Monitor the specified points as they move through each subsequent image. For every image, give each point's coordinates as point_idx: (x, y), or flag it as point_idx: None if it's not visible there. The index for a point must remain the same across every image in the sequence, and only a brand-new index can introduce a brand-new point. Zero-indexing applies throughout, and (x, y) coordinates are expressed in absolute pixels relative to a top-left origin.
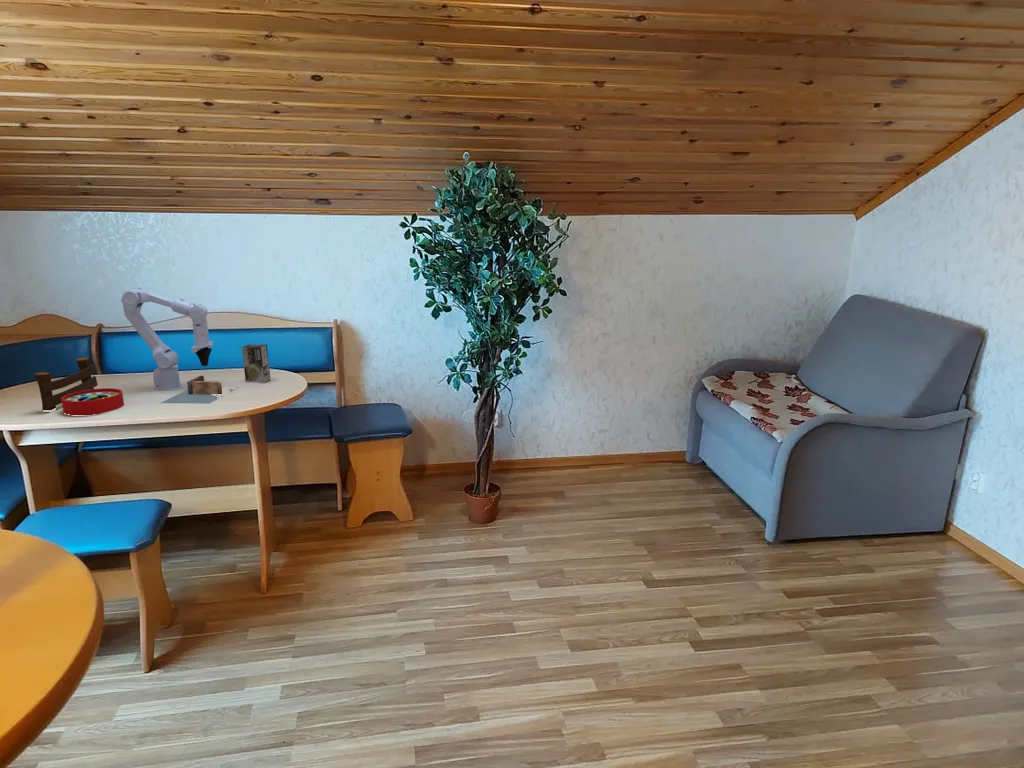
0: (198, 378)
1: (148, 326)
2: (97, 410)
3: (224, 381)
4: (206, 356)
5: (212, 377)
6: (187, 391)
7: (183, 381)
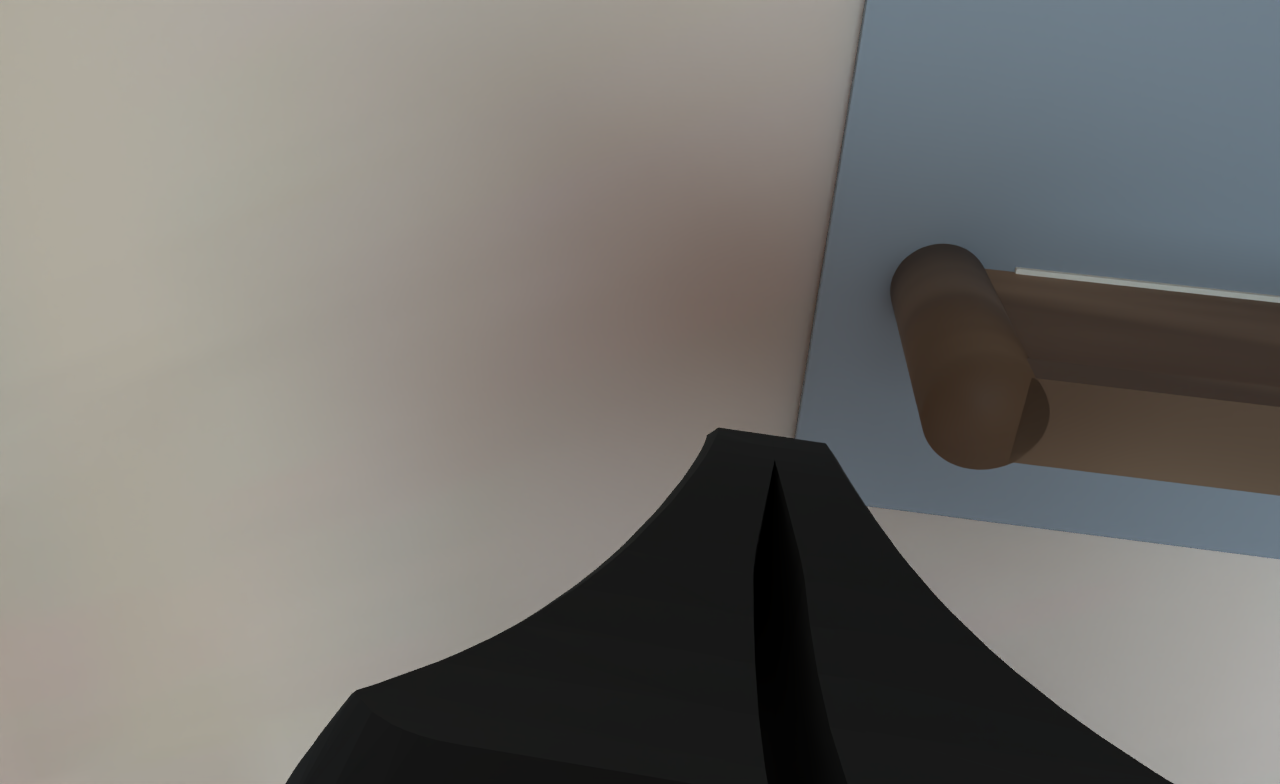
0: (1266, 400)
1: None
2: None
3: (265, 49)
4: (943, 646)
5: (4, 421)
6: None
7: None
